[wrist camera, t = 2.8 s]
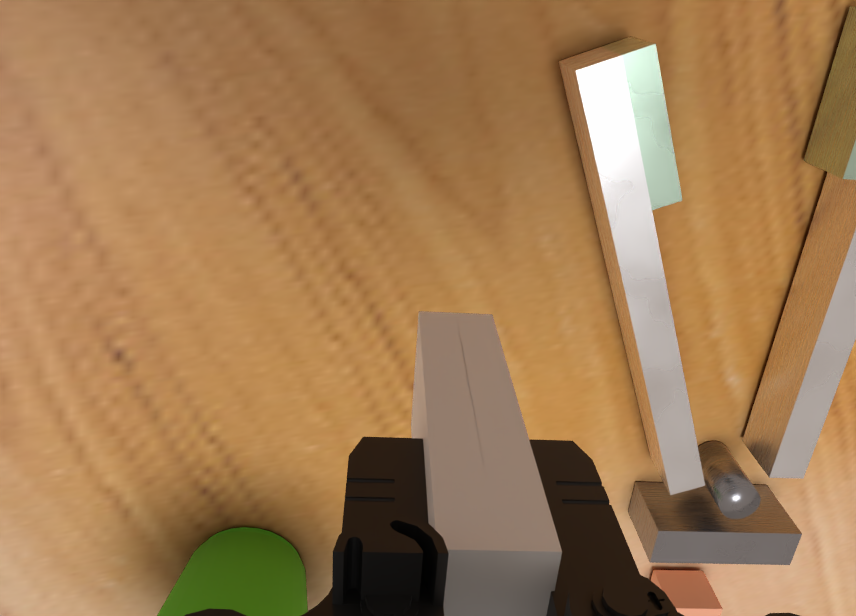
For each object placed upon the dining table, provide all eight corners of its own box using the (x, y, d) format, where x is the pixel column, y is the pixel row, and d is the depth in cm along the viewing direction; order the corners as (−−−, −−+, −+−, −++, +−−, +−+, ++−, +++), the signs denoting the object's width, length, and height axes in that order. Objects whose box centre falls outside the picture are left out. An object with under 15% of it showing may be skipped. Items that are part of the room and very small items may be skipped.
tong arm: (558, 61, 23) (575, 71, 21) (630, 36, 23) (655, 43, 20) (650, 457, 30) (670, 495, 28) (705, 442, 30) (730, 478, 28)
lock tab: (653, 569, 33) (669, 608, 31) (703, 570, 33) (722, 609, 31) (640, 615, 34) (655, 655, 32) (688, 615, 34) (706, 655, 32)
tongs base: (753, -1, 23) (802, 3, 20) (931, 12, 23) (1003, 18, 20) (628, 511, 32) (649, 562, 29) (756, 514, 32) (790, 564, 29)
